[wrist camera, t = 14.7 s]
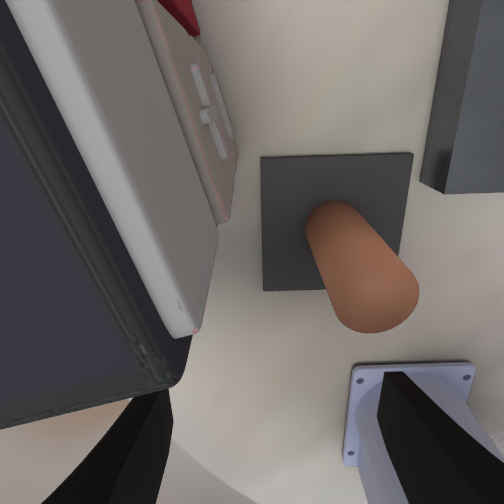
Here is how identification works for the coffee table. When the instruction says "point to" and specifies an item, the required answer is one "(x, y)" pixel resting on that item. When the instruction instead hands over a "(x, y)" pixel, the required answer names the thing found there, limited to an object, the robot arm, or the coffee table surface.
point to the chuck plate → (468, 103)
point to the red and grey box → (104, 199)
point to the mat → (317, 192)
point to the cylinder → (359, 269)
